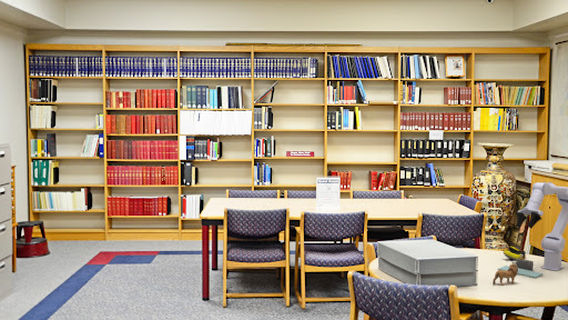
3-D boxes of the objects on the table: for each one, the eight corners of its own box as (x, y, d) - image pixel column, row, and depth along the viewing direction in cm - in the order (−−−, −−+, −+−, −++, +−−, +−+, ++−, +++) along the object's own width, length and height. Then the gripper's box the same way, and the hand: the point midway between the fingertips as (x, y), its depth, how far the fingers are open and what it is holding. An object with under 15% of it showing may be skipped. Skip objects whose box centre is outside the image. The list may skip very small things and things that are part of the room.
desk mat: (505, 267, 287) (506, 265, 287) (542, 274, 273) (542, 273, 273) (497, 270, 281) (498, 268, 281) (535, 278, 267) (535, 276, 267)
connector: (514, 265, 289) (514, 257, 289) (534, 270, 282) (534, 261, 281) (511, 267, 287) (511, 258, 287) (531, 271, 279) (531, 262, 279)
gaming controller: (502, 260, 301) (521, 263, 296) (502, 250, 301) (521, 253, 295) (508, 254, 313) (527, 257, 308) (509, 245, 313) (527, 247, 307)
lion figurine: (511, 280, 263) (512, 262, 263) (520, 283, 259) (521, 264, 258) (489, 284, 257) (490, 265, 256) (498, 287, 252) (499, 268, 251)
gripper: (517, 199, 278) (507, 222, 275) (540, 199, 265) (529, 223, 261) (527, 206, 280) (517, 229, 277) (549, 207, 267) (539, 231, 263)
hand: (523, 227), depth 269 cm, fingers open, 7 cm apart
